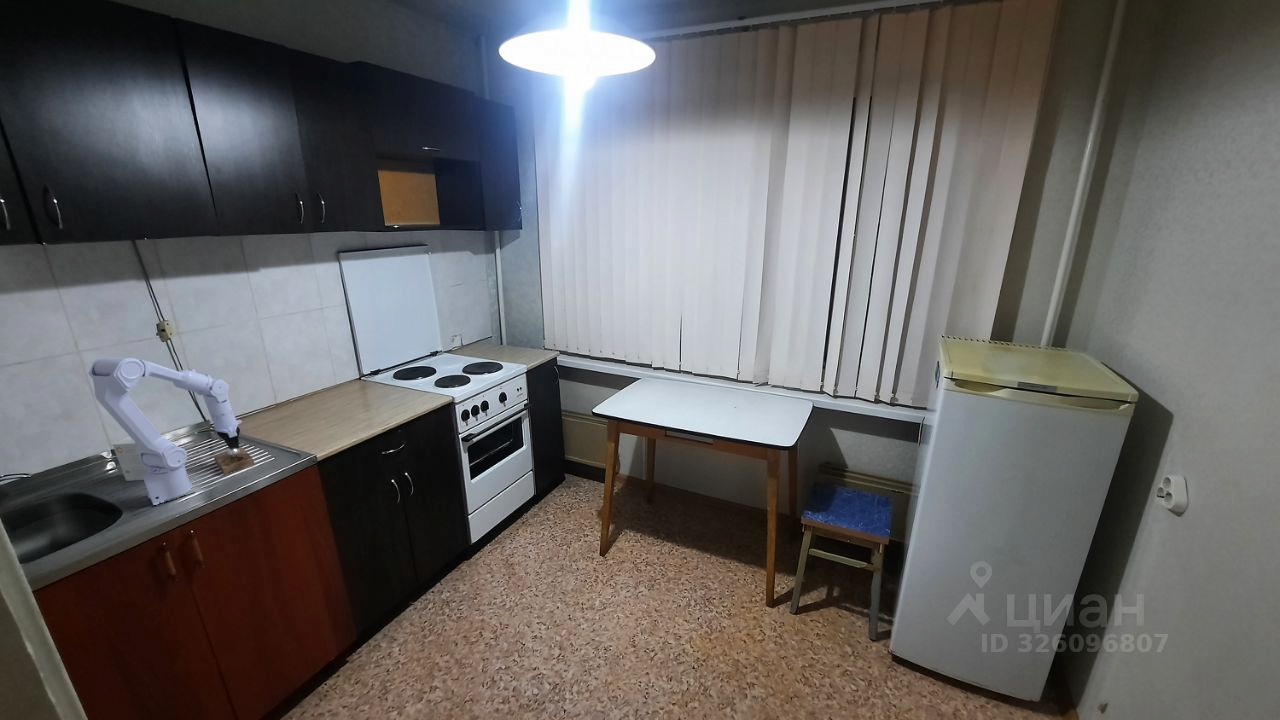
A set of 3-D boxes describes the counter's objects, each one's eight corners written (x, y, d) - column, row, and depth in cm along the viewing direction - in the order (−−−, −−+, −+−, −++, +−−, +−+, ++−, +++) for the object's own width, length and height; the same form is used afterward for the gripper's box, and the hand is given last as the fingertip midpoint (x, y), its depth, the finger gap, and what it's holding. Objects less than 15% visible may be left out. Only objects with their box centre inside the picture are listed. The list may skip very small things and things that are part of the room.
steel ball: (225, 456, 165) (230, 459, 164) (225, 447, 165) (230, 450, 164) (236, 453, 168) (241, 456, 167) (236, 445, 168) (241, 448, 166)
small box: (169, 469, 164) (156, 433, 160) (152, 480, 158) (139, 443, 154) (142, 471, 163) (129, 435, 159) (125, 481, 157) (111, 444, 153)
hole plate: (224, 475, 160) (222, 468, 159) (215, 462, 168) (213, 456, 167) (254, 465, 165) (253, 458, 165) (244, 453, 173) (242, 447, 173)
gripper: (242, 414, 160) (255, 451, 165) (230, 402, 169) (243, 437, 174) (215, 422, 155) (229, 460, 160) (204, 410, 164) (218, 446, 169)
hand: (235, 449), depth 166 cm, fingers closed, pressing on steel ball
